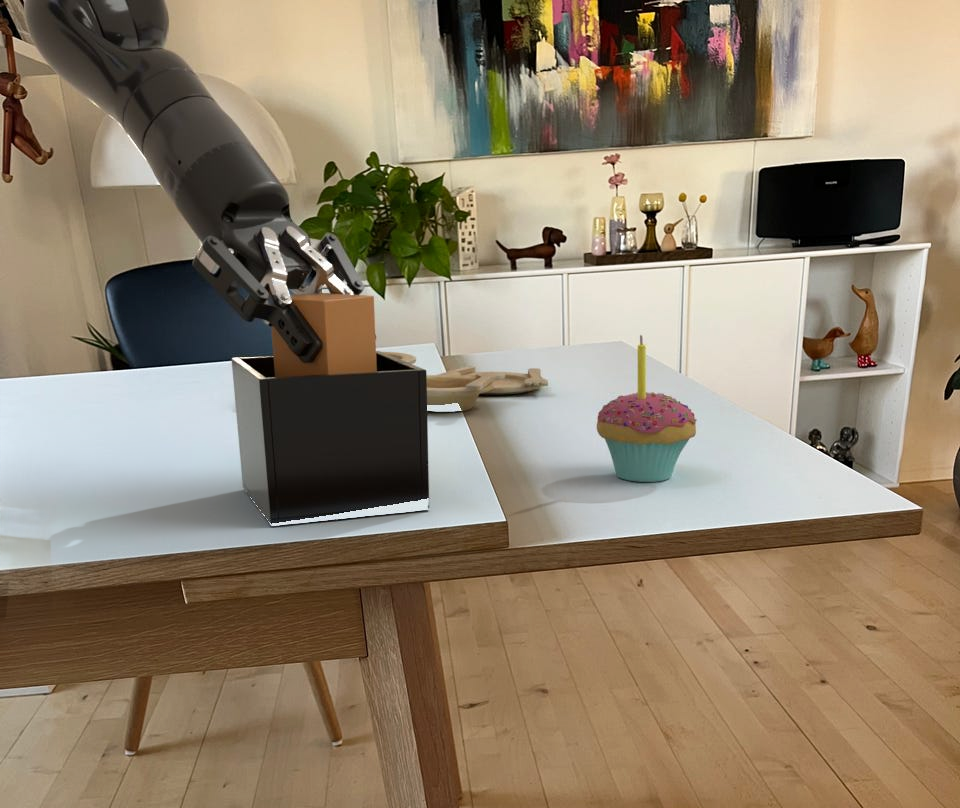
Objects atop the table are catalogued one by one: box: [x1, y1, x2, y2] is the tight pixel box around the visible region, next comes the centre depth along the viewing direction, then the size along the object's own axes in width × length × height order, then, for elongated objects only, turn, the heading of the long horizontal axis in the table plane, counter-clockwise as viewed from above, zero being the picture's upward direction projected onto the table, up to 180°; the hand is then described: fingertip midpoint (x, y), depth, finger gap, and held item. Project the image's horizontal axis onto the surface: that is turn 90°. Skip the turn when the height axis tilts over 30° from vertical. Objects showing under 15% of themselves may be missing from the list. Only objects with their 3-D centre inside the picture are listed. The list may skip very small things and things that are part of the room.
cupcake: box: [596, 334, 698, 483], centre depth 88 cm, size 9×8×12 cm
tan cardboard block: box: [270, 292, 377, 377], centre depth 79 cm, size 6×6×8 cm
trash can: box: [230, 350, 430, 524], centre depth 81 cm, size 12×12×11 cm
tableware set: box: [382, 351, 549, 413], centre depth 130 cm, size 35×29×4 cm
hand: (342, 350), depth 78 cm, fingers closed on tan cardboard block, 5 cm apart
